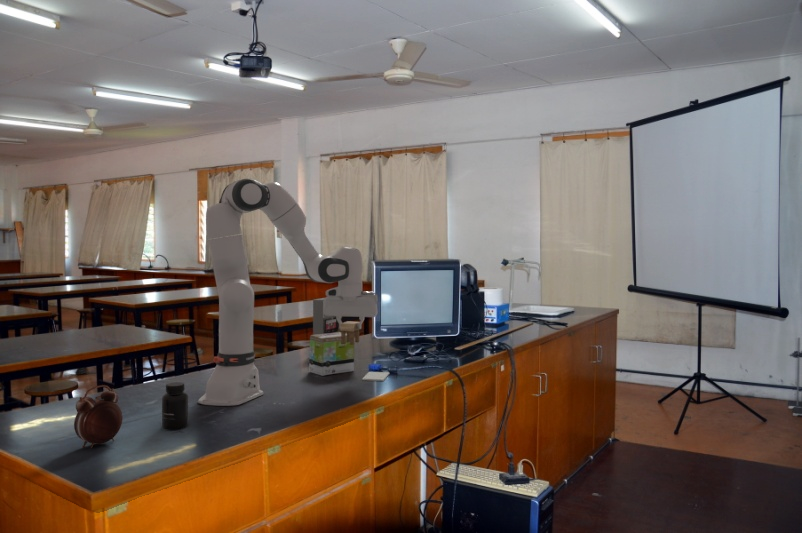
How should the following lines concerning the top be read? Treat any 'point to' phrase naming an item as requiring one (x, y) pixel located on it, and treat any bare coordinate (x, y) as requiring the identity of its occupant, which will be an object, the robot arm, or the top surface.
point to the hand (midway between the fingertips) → (350, 328)
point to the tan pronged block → (349, 332)
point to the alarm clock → (98, 417)
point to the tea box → (330, 354)
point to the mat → (375, 376)
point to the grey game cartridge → (323, 319)
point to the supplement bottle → (174, 407)
